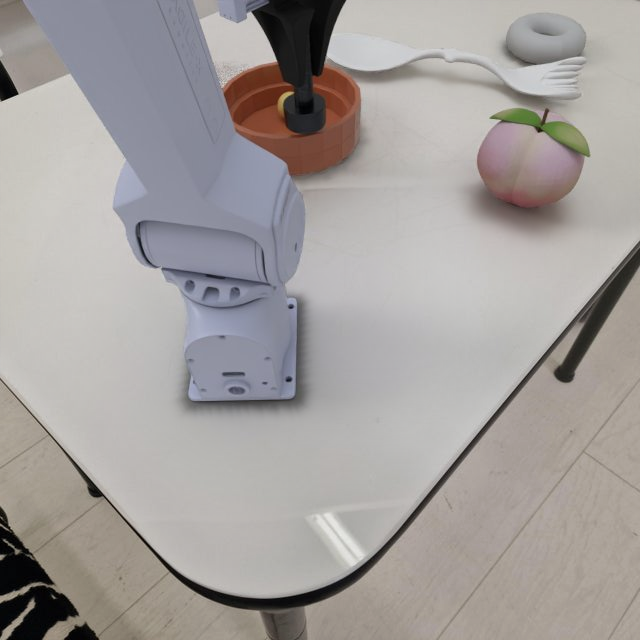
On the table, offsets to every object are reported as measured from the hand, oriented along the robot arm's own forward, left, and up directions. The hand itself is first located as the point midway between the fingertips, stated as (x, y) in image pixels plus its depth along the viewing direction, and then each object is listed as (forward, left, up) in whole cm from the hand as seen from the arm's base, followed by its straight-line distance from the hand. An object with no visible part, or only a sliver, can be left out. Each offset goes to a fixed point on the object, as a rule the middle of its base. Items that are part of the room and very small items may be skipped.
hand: (302, 77), depth 46 cm
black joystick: (0, 0, -4) cm, 4 cm away
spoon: (+19, -17, -11) cm, 28 cm away
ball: (+10, +2, -8) cm, 13 cm away
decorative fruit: (-5, -21, -11) cm, 24 cm away
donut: (+25, -31, -11) cm, 41 cm away
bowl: (+7, +2, -11) cm, 13 cm away
